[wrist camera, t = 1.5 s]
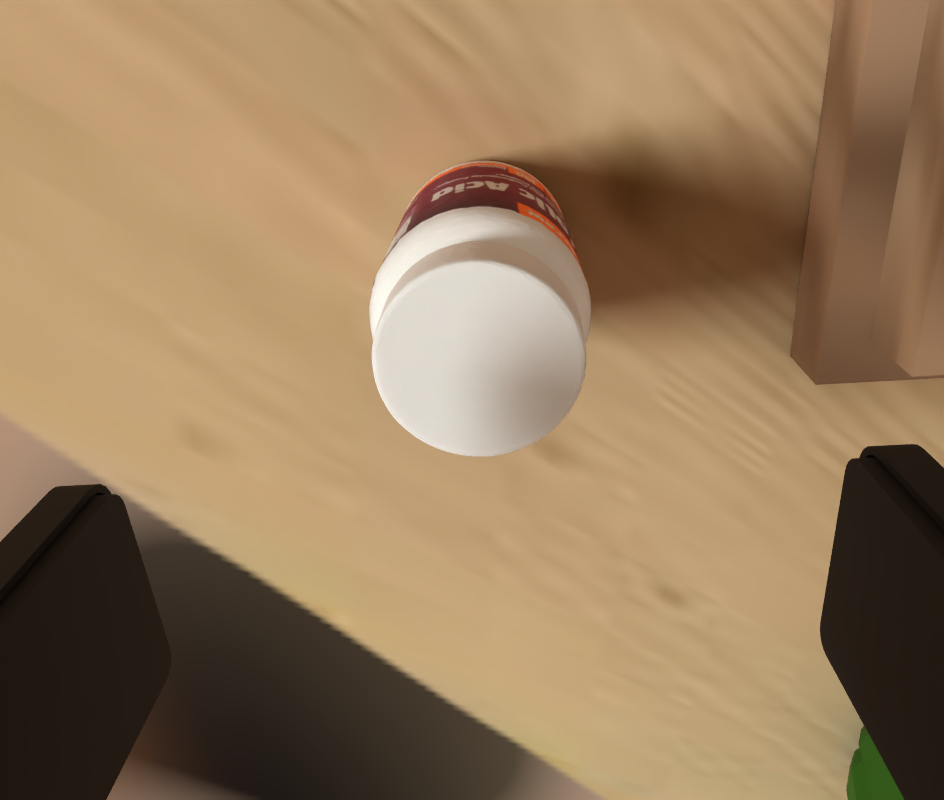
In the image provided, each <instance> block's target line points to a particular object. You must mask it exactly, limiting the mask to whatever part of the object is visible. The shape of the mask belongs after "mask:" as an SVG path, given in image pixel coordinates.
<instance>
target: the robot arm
mask: <svg viewBox="0 0 944 800" xmlns="http://www.w3.org/2000/svg"><path fill="white" fill-rule="evenodd" d="M820 635H821V641H822V645H823V649H824V651H825V654H826V656H827V658H828V660H829V661H830V663H831V665H832V667H833V669H834V671H835V673H836V674H837V676H838V678H839V680H840V682H841V684H842V685H843V687H844V689H845V691H846V693H847V695H848V697H849V698H850V700H851V702H852V704H853V706H854V708H855V709H856V711H857V713H858V715H859V717H860V719H861V721H862V722H863V724H864V726H865V728H866V730H867V732H868V733H869V735H870V737H871V739H872V741H873V743H874V745H875V746H876V748H877V750H878V752H879V754H880V756H881V757H882V759H883V761H884V763H885V765H886V767H887V769H888V770H889V772H890V774H891V776H892V778H893V780H894V781H895V783H896V785H897V787H898V789H899V791H900V793H901V794H902V796H903V798H904V800H944V468H943V467H942V466H941V465H940V464H939V463H938V462H937V461H936V460H935V459H934V458H933V457H932V456H931V455H930V454H928V453H927V452H926V451H925V450H924V449H923V448H922V447H920V446H919V445H915V444H907V445H887V446H868V447H866V448H865V449H864V450H863V451H862V453H861V455H860V458H855V459H851V460H850V461H849V462H848V464H847V466H846V470H845V475H844V481H843V487H842V494H841V500H840V506H839V512H838V518H837V524H836V530H835V537H834V543H833V549H832V555H831V561H830V567H829V573H828V580H827V586H826V592H825V598H824V604H823V610H822V616H821V623H820ZM170 667H171V651H170V647H169V644H168V640H167V637H166V634H165V631H164V628H163V624H162V621H161V618H160V615H159V612H158V609H157V605H156V602H155V599H154V596H153V593H152V590H151V586H150V583H149V580H148V577H147V574H146V570H145V567H144V564H143V561H142V558H141V554H140V551H139V548H138V545H137V542H136V539H135V535H134V532H133V529H132V526H131V523H130V519H129V516H128V514H127V510H126V507H125V504H124V502H123V500H122V499H121V497H120V496H118V495H116V494H112V495H111V492H110V491H109V490H108V489H107V487H106V486H103V485H101V484H94V485H74V486H59V487H55V488H53V489H52V490H51V491H49V492H48V493H47V494H46V495H45V496H44V497H43V498H42V500H40V501H39V503H38V504H37V505H36V506H35V507H34V508H33V509H32V510H31V511H30V512H29V513H28V514H27V515H26V516H25V517H24V518H23V519H22V520H21V521H20V522H19V523H18V524H17V525H16V526H15V527H14V528H13V529H12V530H11V531H10V533H8V535H6V537H5V538H4V539H3V540H2V541H1V542H0V800H106V799H107V797H108V795H109V793H110V791H111V789H112V787H113V785H114V783H115V781H116V779H117V777H118V775H119V773H120V771H121V769H122V767H123V765H124V763H125V761H126V759H127V757H128V755H129V753H130V751H131V749H132V747H133V745H134V743H135V741H136V739H137V737H138V735H139V734H140V732H141V729H142V727H143V725H144V724H145V722H146V720H147V717H148V716H149V713H150V712H151V709H152V708H153V706H154V704H155V702H156V700H157V698H158V696H159V694H160V692H161V690H162V688H163V686H164V684H165V682H166V680H167V677H168V675H169V671H170Z"/></svg>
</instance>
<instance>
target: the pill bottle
mask: <svg viewBox="0 0 944 800" xmlns="http://www.w3.org/2000/svg"><path fill="white" fill-rule="evenodd" d="M590 322H591V299H590V293H589V289H588V284H587V281H586V278H585V276H584V274H583V271H582V269H581V265H580V262H579V259H578V257H577V254H576V249H575V246H574V244H573V242H572V239H571V236H570V234H569V231H568V228H567V224H566V222H565V220H564V217H563V214H562V212H561V210H560V207H559V205H558V204H557V202H556V200H555V198H554V197H553V196H552V194H551V193H550V191H549V190H548V189H547V188H546V187H545V186H544V185H543V184H542V183H541V182H540V181H539V180H538V179H536V178H535V177H534V176H532V175H531V174H529V173H527V172H526V171H524V170H522V169H520V168H518V167H515V166H512V165H509V164H506V163H502V162H497V161H470V162H465V163H460V164H457V165H455V166H452V167H450V168H448V169H446V170H444V171H442V172H440V173H438V174H437V175H435V176H434V177H433V178H431V179H430V180H429V181H428V182H427V183H425V184H424V186H423V187H422V188H421V189H420V190H419V191H418V192H417V193H416V195H415V196H414V198H413V199H412V201H411V202H410V204H409V206H408V208H407V210H406V212H405V214H404V216H403V218H402V221H401V223H400V225H399V227H398V229H397V231H396V234H395V236H394V238H393V240H392V242H391V244H390V246H389V249H388V252H387V254H386V256H385V258H384V261H383V263H382V265H381V267H380V269H379V271H378V273H377V276H376V279H375V281H374V284H373V288H372V293H371V299H370V326H371V331H372V337H373V346H372V366H373V372H374V378H375V382H376V385H377V388H378V391H379V393H380V395H381V397H382V399H383V401H384V403H385V405H386V407H387V408H388V410H389V411H390V413H391V414H392V415H393V417H394V418H395V419H396V420H397V422H398V423H399V424H400V425H402V426H403V427H404V428H405V429H406V430H407V431H409V432H410V433H411V434H412V435H414V436H415V437H416V438H418V439H419V440H421V441H423V442H425V443H427V444H429V445H431V446H433V447H435V448H438V449H440V450H443V451H446V452H450V453H454V454H458V455H465V456H495V455H501V454H506V453H510V452H514V451H517V450H519V449H522V448H524V447H527V446H529V445H531V444H533V443H535V442H536V441H538V440H540V439H542V438H543V437H544V436H546V435H547V434H548V433H550V432H551V431H552V430H553V429H554V428H555V427H556V426H557V425H558V424H559V423H560V422H561V421H562V420H563V419H564V418H565V416H566V415H567V414H568V413H569V411H570V409H571V408H572V406H573V405H574V403H575V401H576V399H577V397H578V395H579V392H580V390H581V387H582V383H583V380H584V377H585V369H586V346H585V345H586V342H587V339H588V335H589V329H590Z"/></svg>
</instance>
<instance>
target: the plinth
mask: <svg viewBox="0 0 944 800" xmlns="http://www.w3.org/2000/svg"><path fill="white" fill-rule="evenodd" d="M790 356H791V357H792V358H793V359H794V361H795V362H796V363H797V364H798V365H799V366H800V367H801V369H802V370H803V371H804V372H805V373H806V374H807V375H808V376H809V378H810V379H811V380H812V381H813V382H814V383H815V384H816V385H818V384H837V383H855V382H874V381H892V380H911V379H929V378H944V0H836V4H835V11H834V19H833V27H832V35H831V42H830V50H829V58H828V66H827V74H826V81H825V89H824V97H823V105H822V112H821V120H820V128H819V136H818V143H817V151H816V159H815V167H814V174H813V182H812V190H811V198H810V206H809V213H808V221H807V229H806V237H805V244H804V252H803V260H802V268H801V275H800V283H799V291H798V299H797V306H796V314H795V322H794V330H793V338H792V345H791V353H790Z"/></svg>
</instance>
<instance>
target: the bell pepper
mask: <svg viewBox="0 0 944 800" xmlns="http://www.w3.org/2000/svg"><path fill="white" fill-rule="evenodd" d="M859 747H860V748H859V749H857V750H856V751H855V752H854V756H853V759H852V762H851V765H850V769H849V776H848V783H847V789H846V790H847V796H848V800H904V798H903V796H902V794H901V793H900V791H899V789H898V787H897V785H896V783H895V781H894V780H893V778H892V776H891V774H890V772H889V770H888V769H887V767H886V765H885V763H884V761H883V759H882V757H881V756H880V754H879V752H878V750H877V748H876V746H875V745H874V743H873V741H872V739H871V737H870V735H869V733H868V732H867V730H866V728H865V726H864V727H863V728H862V729H861V734H860V740H859Z"/></svg>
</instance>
